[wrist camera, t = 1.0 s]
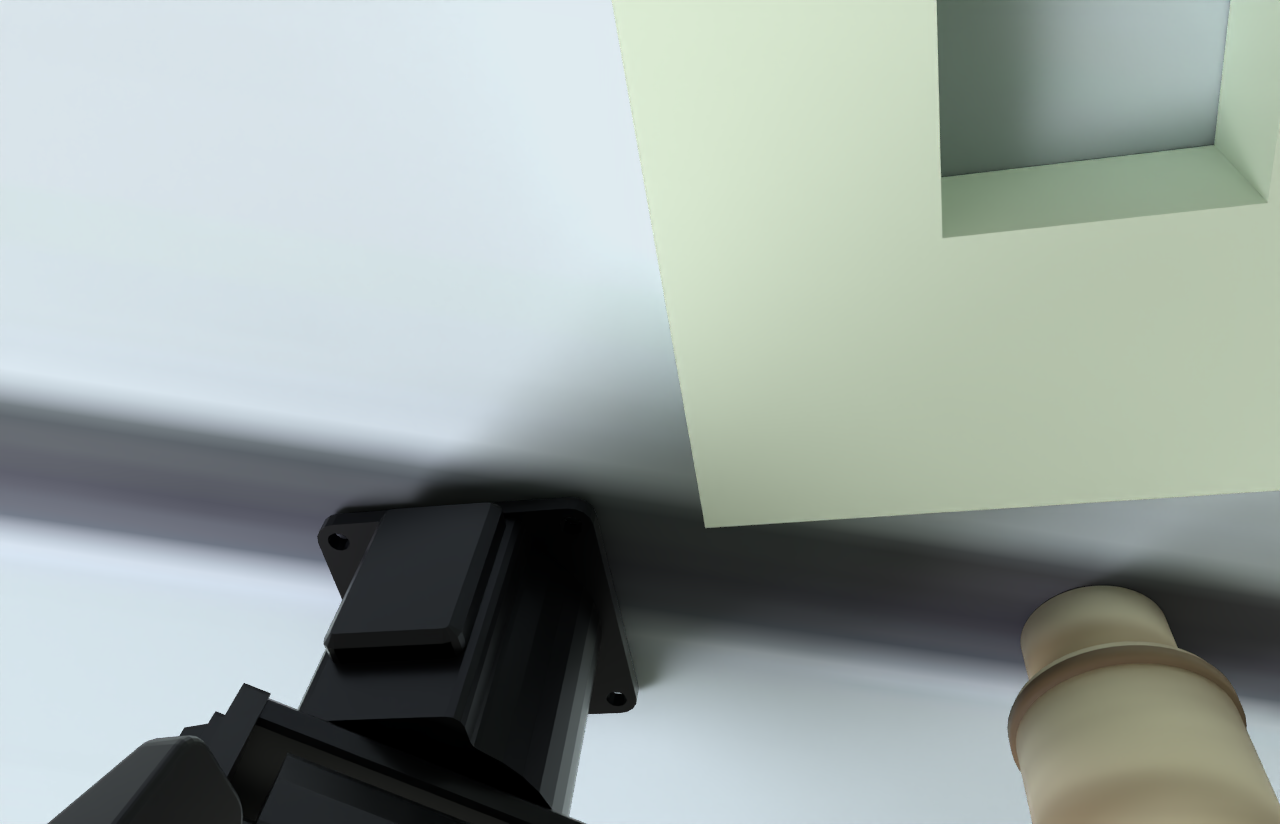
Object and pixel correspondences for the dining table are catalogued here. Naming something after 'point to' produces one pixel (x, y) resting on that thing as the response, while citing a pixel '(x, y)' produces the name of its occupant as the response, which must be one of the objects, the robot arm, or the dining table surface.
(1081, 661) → the peg
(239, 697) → the robot arm
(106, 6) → the dining table surface
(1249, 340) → the board
